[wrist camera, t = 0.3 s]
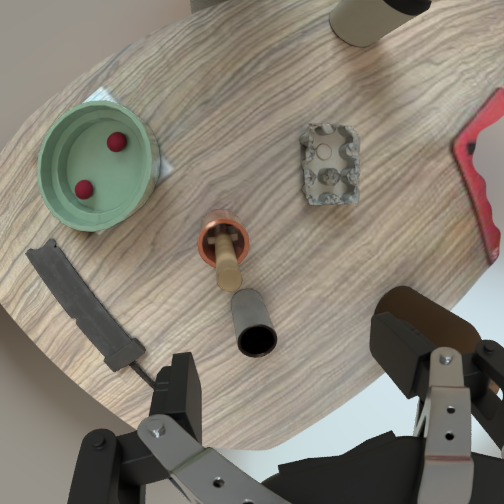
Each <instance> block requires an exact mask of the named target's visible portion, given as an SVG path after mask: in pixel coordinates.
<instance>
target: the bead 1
mask: <svg viewBox="0 0 504 504" xmlns="http://www.w3.org/2000/svg"><path fill="white" fill-rule="evenodd" d="M92 193H93V185H92V183H91V182H90V181H88V180H81V181H79V182H78V183H77V184H76V186H75V194H76V196H77V197H78V198H79V199H82V200H85V199H88V198H89V197H90V196H91V195H92Z"/></svg>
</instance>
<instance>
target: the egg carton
mask: <svg viewBox="0 0 504 504" xmlns="http://www.w3.org/2000/svg"><path fill="white" fill-rule="evenodd" d="M300 142H301V144H303V145H305V146H306V147H307V149H306V159H304V160H303V161H301V162H302V168H303V169H304V175H305V185H303V189H302V191H303V193H304V194H306V198H307V199H308V200H309V205H334V204H355V203H359V188H358V183H359V179H358V178H359V175H360V167H359V164H360V158H359V152H360V138H359V136H358V134H357V132H356V131H355V130H354V128H353V127H351V126H343V125H332V124H324V123H321V124H309V127H308V128H307V131H306V133H305V134H304V135H302V136H301V137H300Z"/></svg>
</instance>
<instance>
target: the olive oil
mask: <svg viewBox="0 0 504 504" xmlns="http://www.w3.org/2000/svg"><path fill="white" fill-rule="evenodd" d="M384 312H390V313H391V314H392V315H393V316H395V317H396V318H397V319H401V320H404V321H406V322H409V323H410V324H411V325H413V326H414V327H415V328H416V329H417V330H418V331H420V332H421V334H423V335H424V336H425V337H427V338H428V339H429V340H430V341H431V342H432V343H433V344H435V345H436V346H437V347H438V348H440V347H450V348H453V349H455V350H457V351H458V352H459V353H460V354H466V353H471V352H474V349H475V346H476V344H477V343H478V342H479V341H481V340H482V339H481V337H480V335H479V333H478V332H477V330H476V329H475V328H474V327H473V326H472V325H471V324H470V323H469V322H467V321H465V320H464V319H462V318H460V317H459V316H457V315H455V314H454V313H452V312H450V311H448V310H447V309H445V308H443V307H442V306H440V305H438V304H437V303H435V302H433V301H431V300H430V299H428V298H426V297H425V296H423V295H422V294H420V293H418V292H417V291H415V290H413V289H412V288H410V287H407V286H399V287H396V288H394V289H392V290H390V291H389V292H388V293H387V294H385V295H384V297H383V298H382V299H381V300H380V302H379V304H378V305H377V308H376V310H375V314H374V315H377V314H381V313H384ZM489 388H490V389H491V390H492V391H493V392H494V393H495V394H497V393H498V391H499V387H498V386H497V385H496V384H495V383H494V382H493V381H492V382H491V384H490V386H489Z"/></svg>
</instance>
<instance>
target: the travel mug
mask: <svg viewBox="0 0 504 504" xmlns="http://www.w3.org/2000/svg"><path fill="white" fill-rule="evenodd" d="M432 1H440V0H341V1H340V2H339V3H338V4H337V5H336V7H335V8H334V9H333V10H332V11H331V13H330V24H331V26H332V28H333V30H334V31H335V33H336V34H337V35H338V36H339V37H340V38H341V39H343V40H344V41H345V42H347V43H349V44H351V45H354V46H358V47H366V46H369V45H371V44H373V43H374V42H376V41H377V40H379V39H380V38H382V37H383V36H385V35H387V34H388V33H390V32H391V31H393V30H394V29H396V28H398V27H399V26H401V25H403V24H404V23H406V22H408V21H409V20H411V19H413V18H414V17H416V16H418V15H419V14H421V13H423V12H425V11H426V10H428V9H429V8H430V5H431V2H432Z"/></svg>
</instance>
